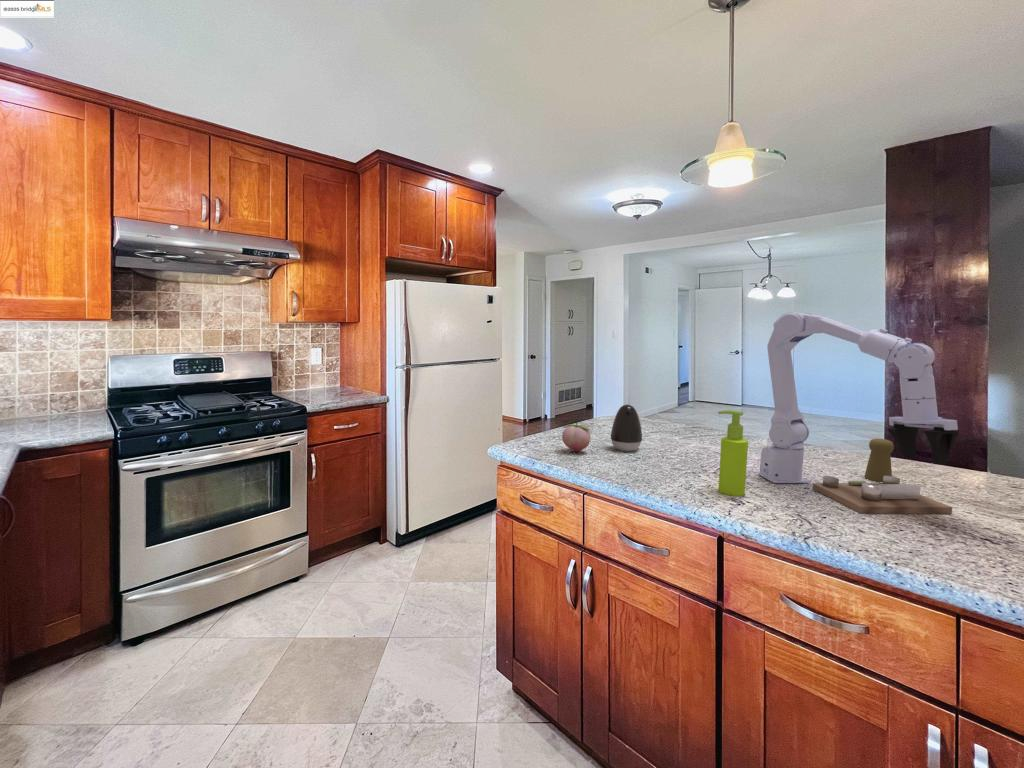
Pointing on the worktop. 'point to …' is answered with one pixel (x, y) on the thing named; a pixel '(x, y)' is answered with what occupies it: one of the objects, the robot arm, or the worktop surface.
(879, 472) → the cork
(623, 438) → the black rounded dome
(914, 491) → the lever handle
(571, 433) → the decorative fruit
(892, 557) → the worktop surface
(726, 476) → the soap dispenser
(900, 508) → the brown latch board
